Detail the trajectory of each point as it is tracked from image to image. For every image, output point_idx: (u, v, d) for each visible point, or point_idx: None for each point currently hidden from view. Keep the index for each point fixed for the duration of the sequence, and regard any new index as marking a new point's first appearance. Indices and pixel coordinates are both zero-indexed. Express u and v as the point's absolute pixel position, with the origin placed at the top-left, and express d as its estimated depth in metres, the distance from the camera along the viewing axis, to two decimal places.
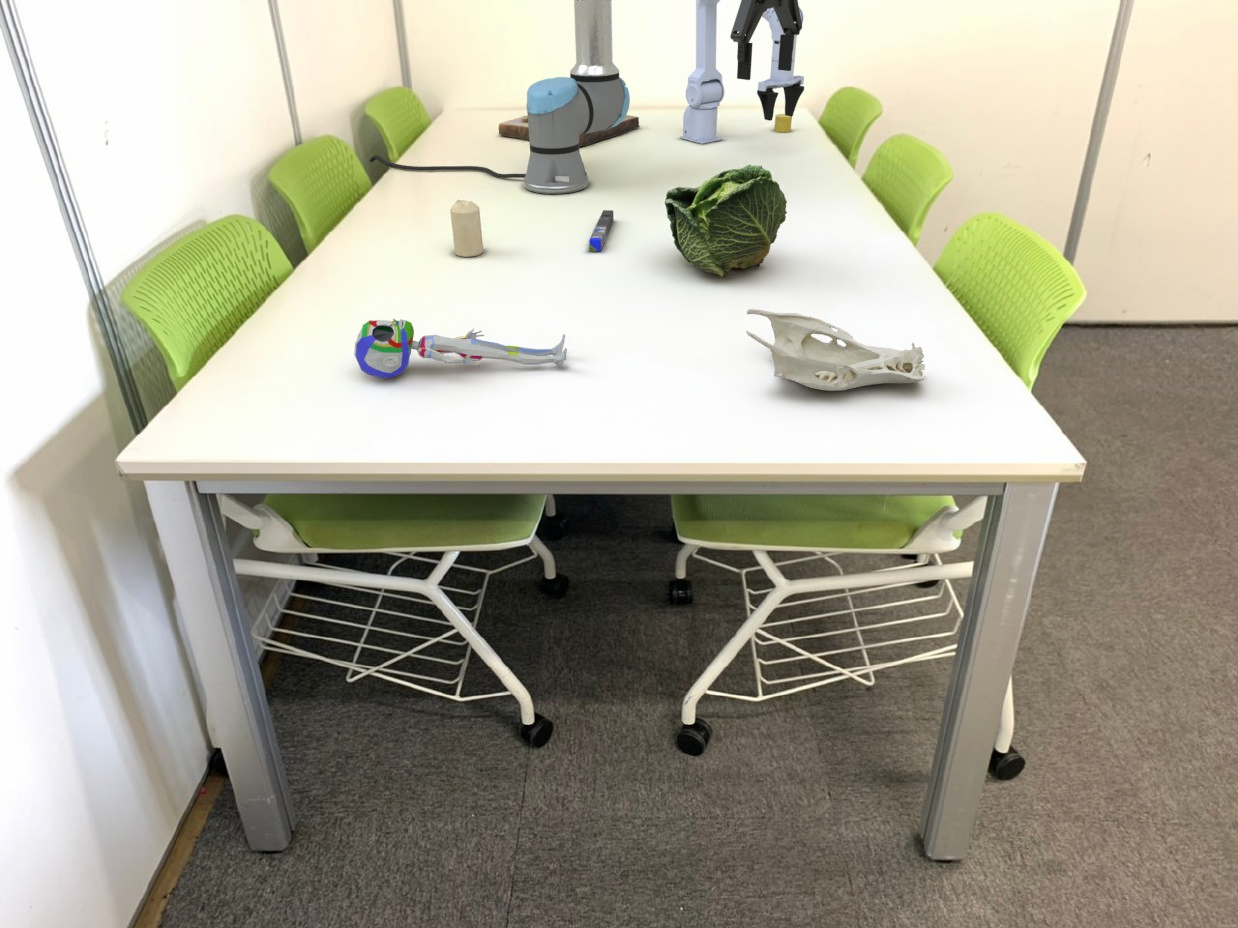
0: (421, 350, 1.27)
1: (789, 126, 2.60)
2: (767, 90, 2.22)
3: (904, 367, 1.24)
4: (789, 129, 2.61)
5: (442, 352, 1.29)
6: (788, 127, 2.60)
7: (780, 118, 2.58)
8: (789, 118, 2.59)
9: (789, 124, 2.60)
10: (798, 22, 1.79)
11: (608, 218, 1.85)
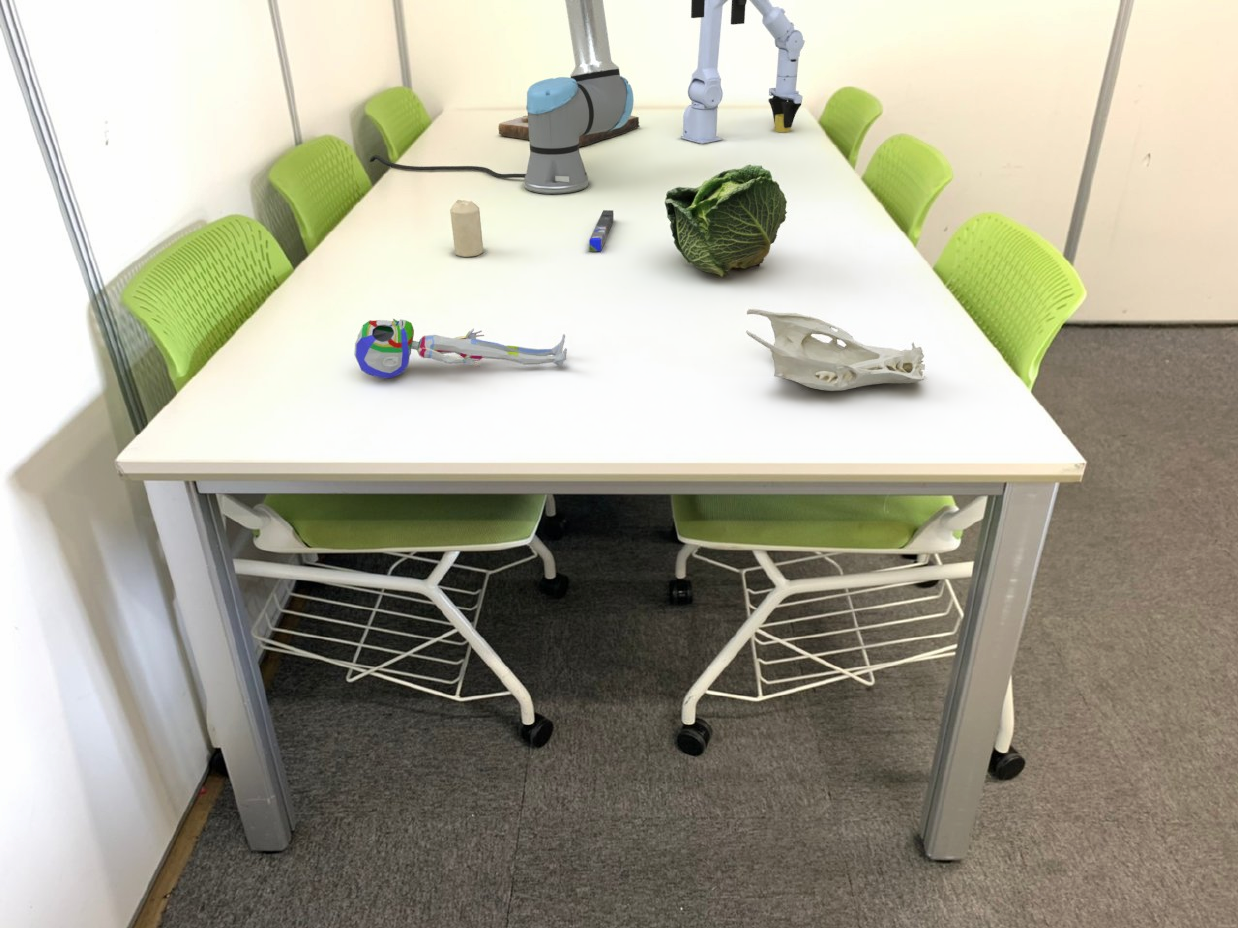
0: (421, 350, 1.27)
1: None
2: None
3: (904, 367, 1.24)
4: (789, 129, 2.61)
5: (442, 352, 1.29)
6: None
7: (780, 118, 2.59)
8: None
9: None
10: None
11: (608, 218, 1.85)
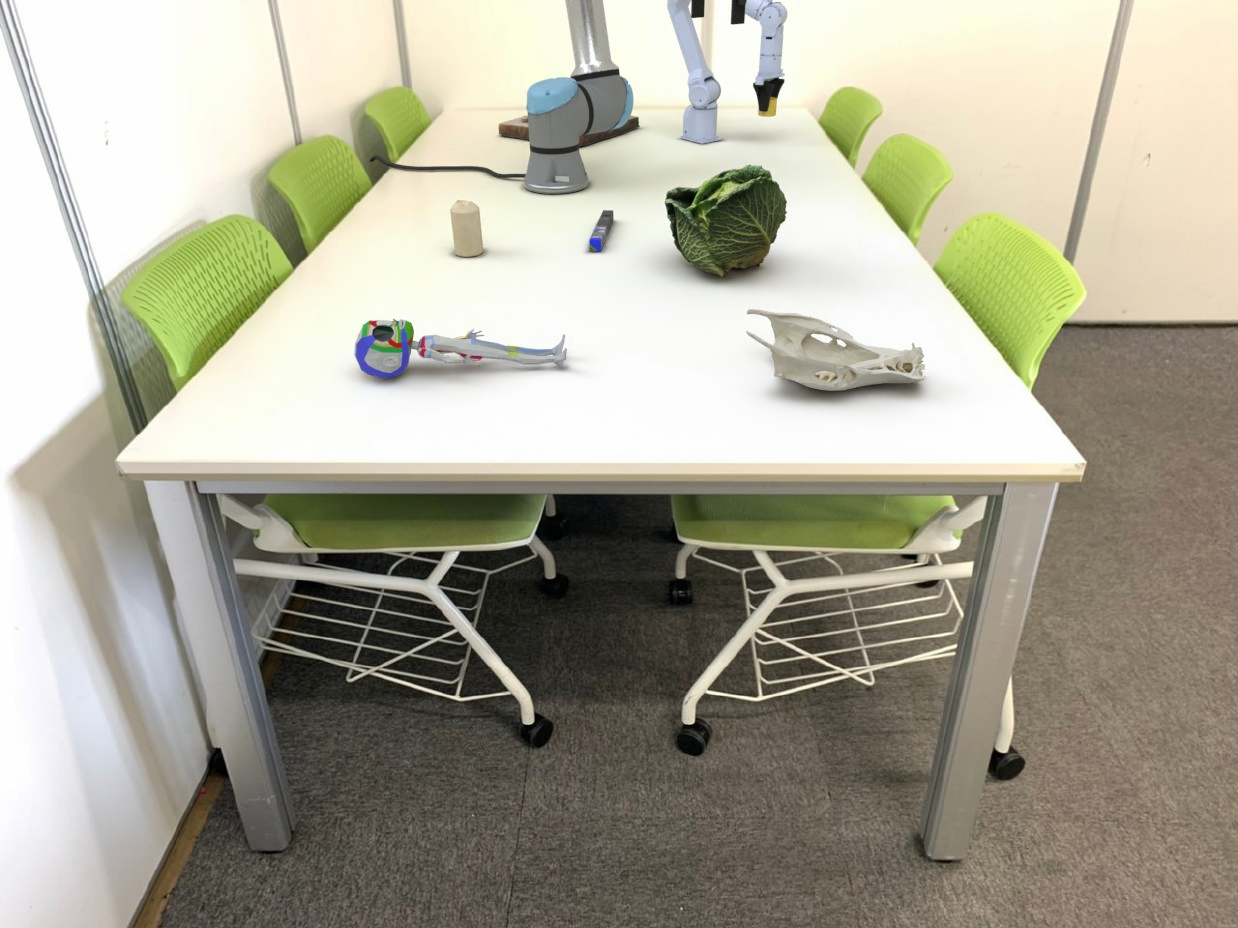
0: (421, 350, 1.27)
1: None
2: (763, 84, 2.34)
3: (904, 367, 1.24)
4: (767, 114, 2.40)
5: (442, 352, 1.29)
6: (765, 112, 2.40)
7: None
8: None
9: None
10: None
11: (608, 218, 1.85)
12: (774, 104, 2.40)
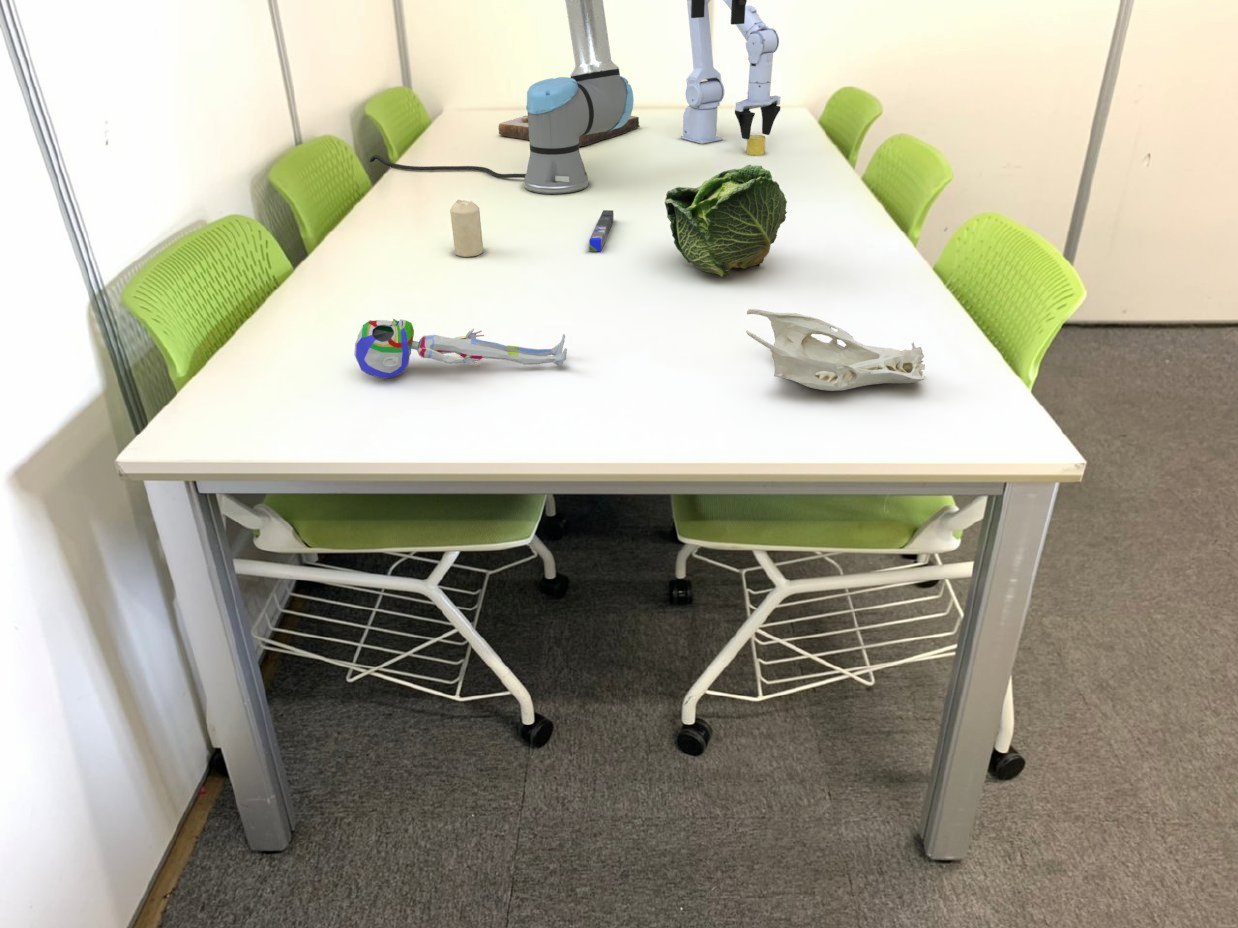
0: (421, 350, 1.27)
1: (752, 149, 2.37)
2: (744, 110, 2.30)
3: (904, 367, 1.24)
4: (752, 152, 2.38)
5: (442, 352, 1.29)
6: (750, 150, 2.38)
7: None
8: (751, 140, 2.36)
9: (752, 147, 2.37)
10: None
11: (608, 218, 1.85)
12: (760, 143, 2.36)
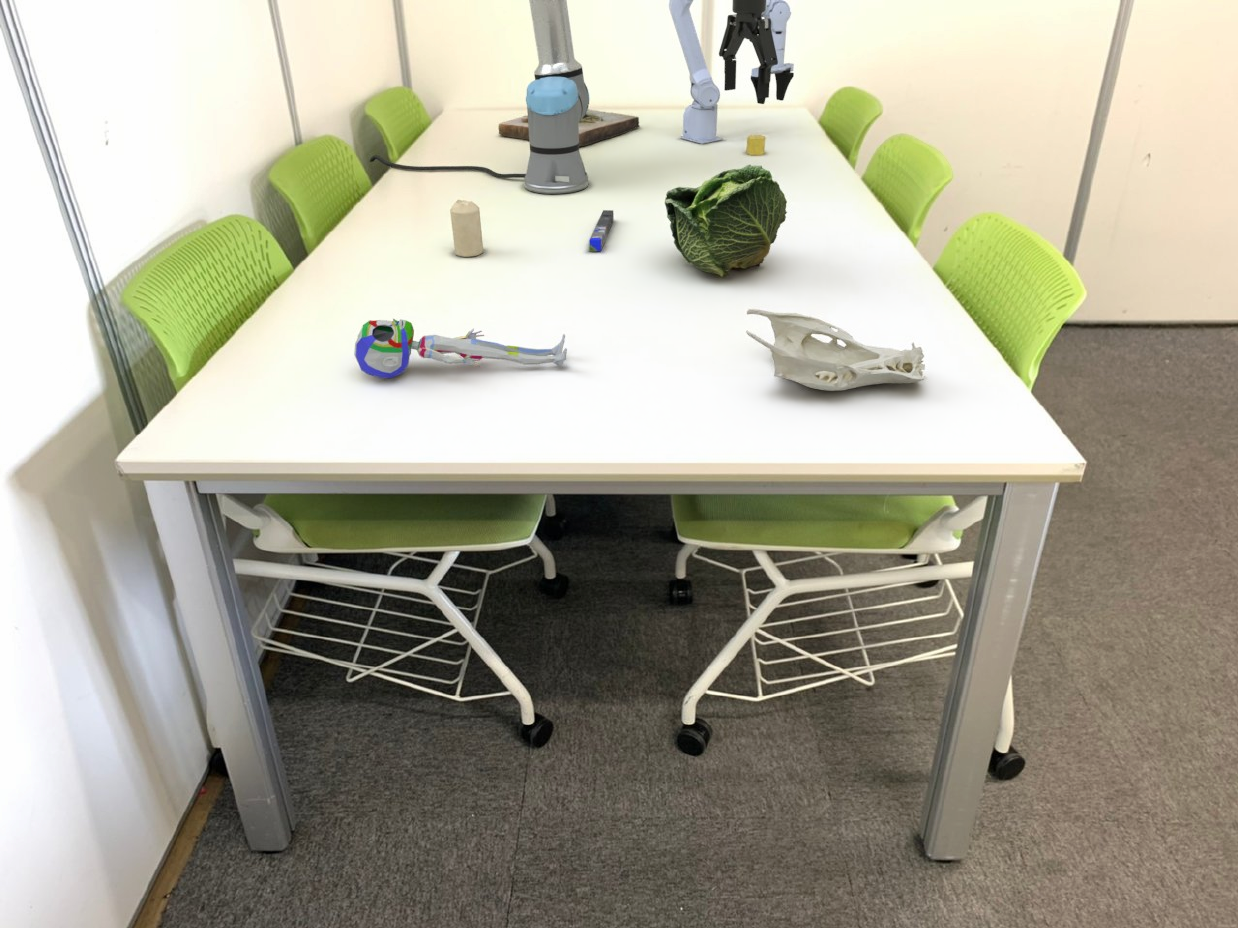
0: (421, 350, 1.27)
1: (752, 149, 2.37)
2: None
3: (904, 367, 1.24)
4: (752, 152, 2.38)
5: (442, 352, 1.29)
6: (750, 150, 2.38)
7: None
8: (751, 140, 2.36)
9: (752, 147, 2.37)
10: None
11: (608, 218, 1.85)
12: (760, 143, 2.36)
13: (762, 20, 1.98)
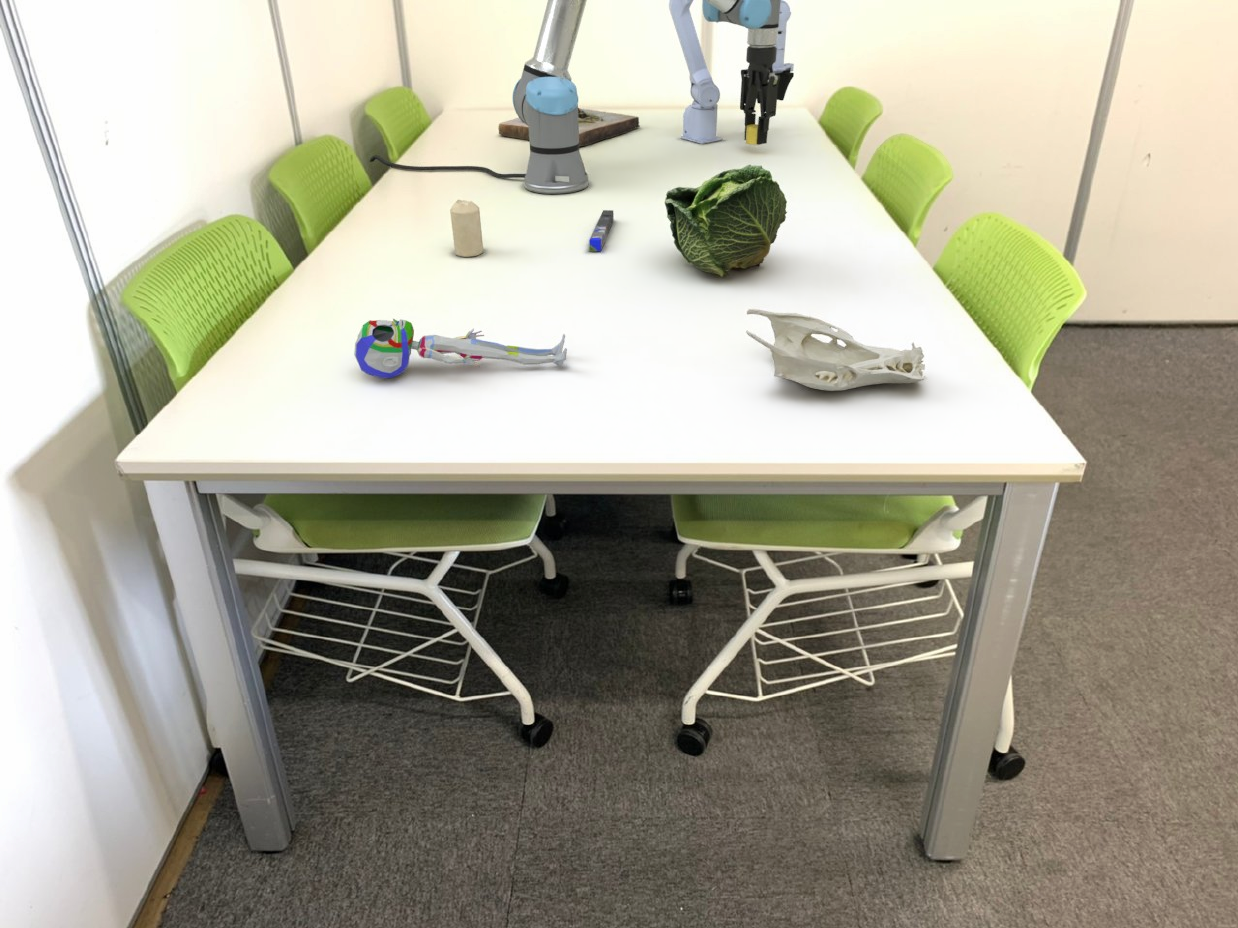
0: (421, 350, 1.27)
1: (751, 138, 2.36)
2: None
3: (904, 367, 1.24)
4: (751, 142, 2.36)
5: (442, 352, 1.29)
6: (749, 139, 2.36)
7: None
8: (751, 129, 2.35)
9: (751, 136, 2.35)
10: None
11: (608, 218, 1.85)
12: None
13: (773, 78, 2.24)
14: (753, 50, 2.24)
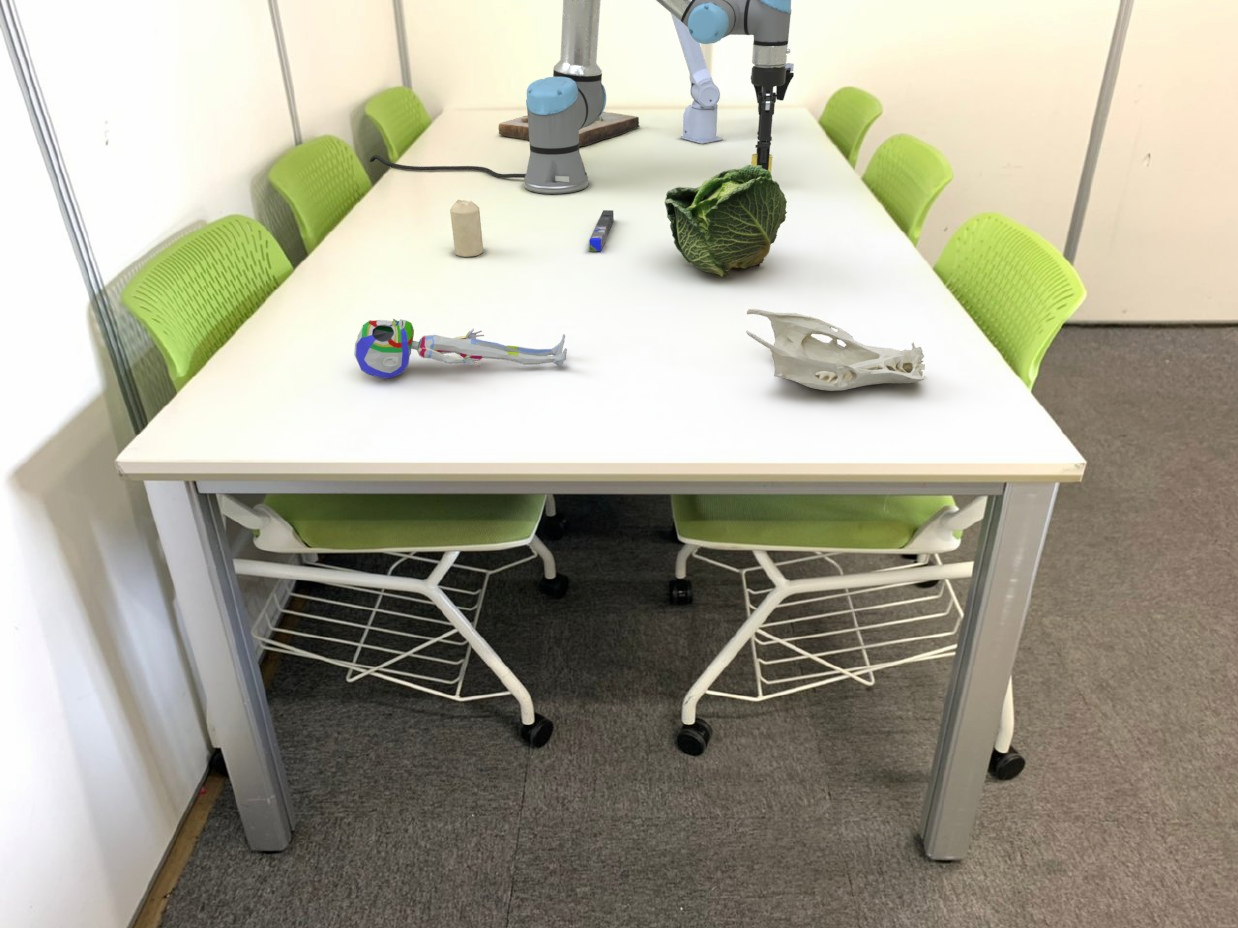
0: (421, 350, 1.27)
1: None
2: None
3: (904, 367, 1.24)
4: None
5: (442, 352, 1.29)
6: None
7: None
8: (752, 158, 2.08)
9: None
10: None
11: (608, 218, 1.85)
12: None
13: (763, 103, 1.96)
14: (753, 69, 1.97)
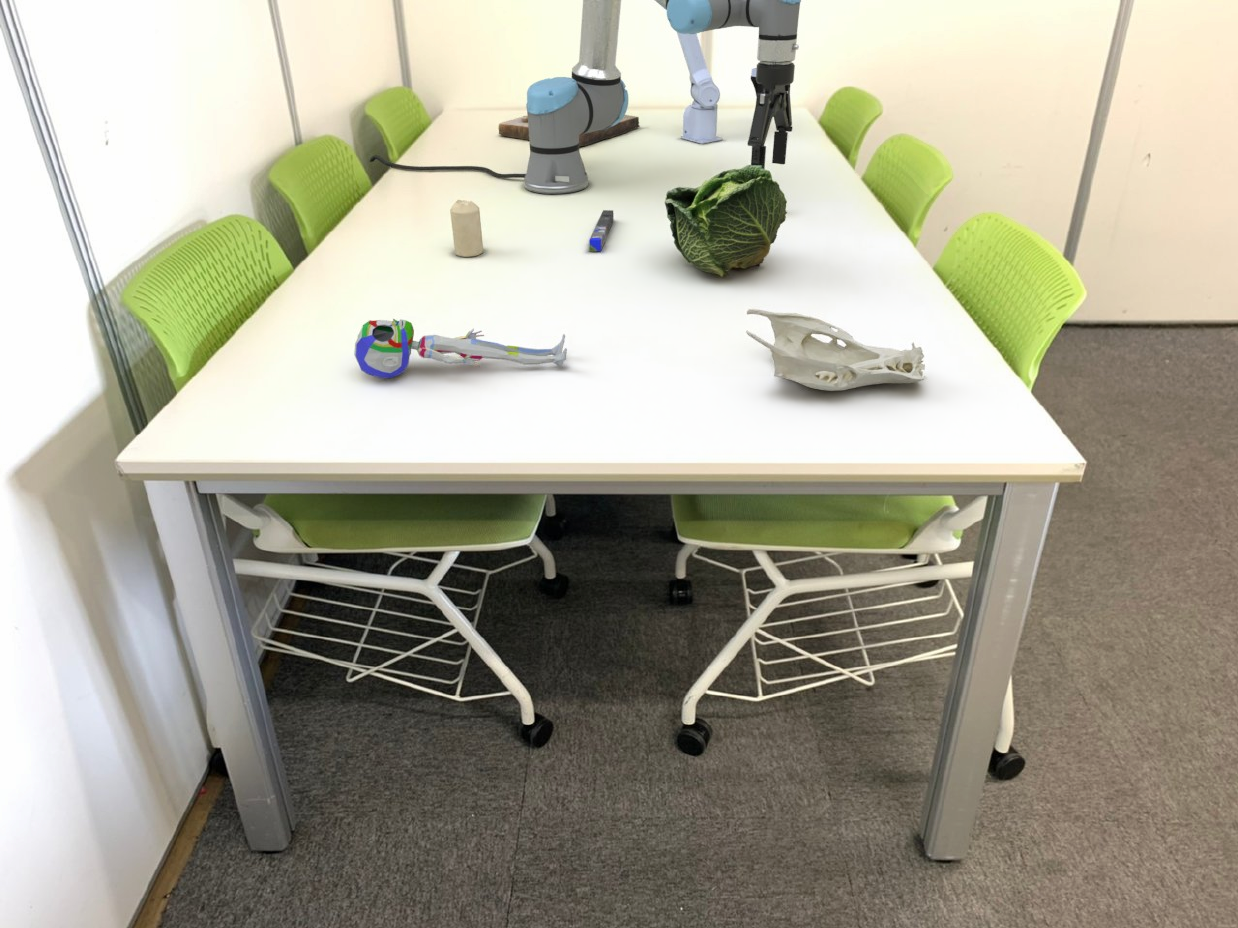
0: (421, 350, 1.27)
1: None
2: None
3: (904, 367, 1.24)
4: None
5: (442, 352, 1.29)
6: None
7: None
8: None
9: None
10: (790, 120, 1.91)
11: (608, 218, 1.85)
12: None
13: (758, 94, 1.76)
14: (757, 65, 1.79)
